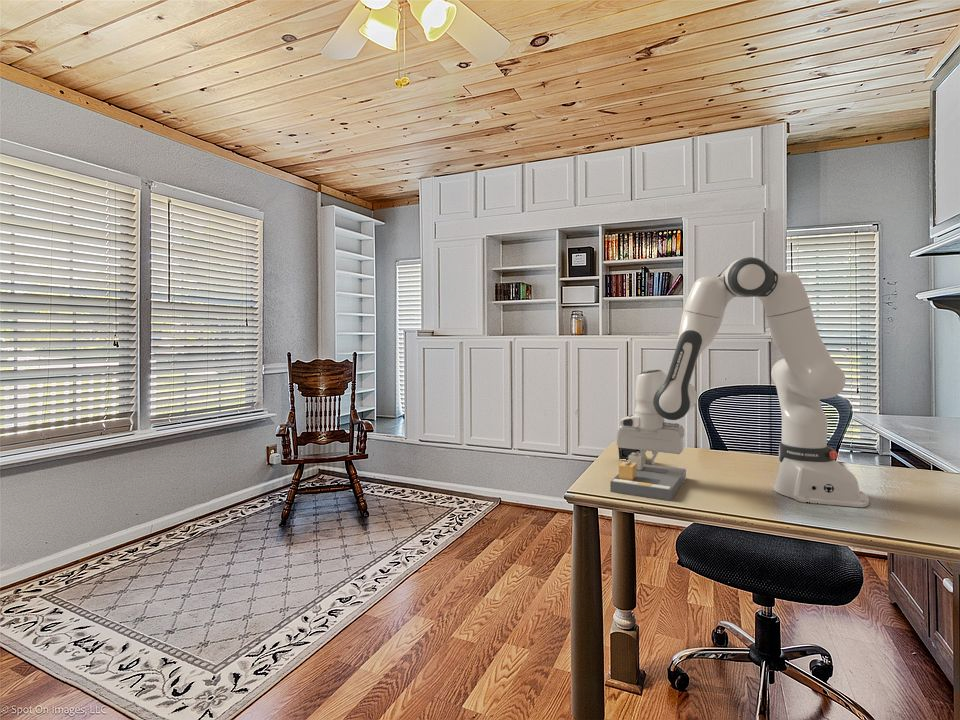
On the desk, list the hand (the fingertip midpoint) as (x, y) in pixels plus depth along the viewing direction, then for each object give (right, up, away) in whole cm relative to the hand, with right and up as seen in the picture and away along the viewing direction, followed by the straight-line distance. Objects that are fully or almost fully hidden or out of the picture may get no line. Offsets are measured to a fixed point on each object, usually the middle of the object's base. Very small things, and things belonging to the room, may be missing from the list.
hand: (649, 464), depth 166 cm
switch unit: (-2, -5, -6) cm, 8 cm away
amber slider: (-9, -2, -8) cm, 12 cm away
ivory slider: (-3, -1, +2) cm, 4 cm away
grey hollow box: (+1, -3, +22) cm, 22 cm away
